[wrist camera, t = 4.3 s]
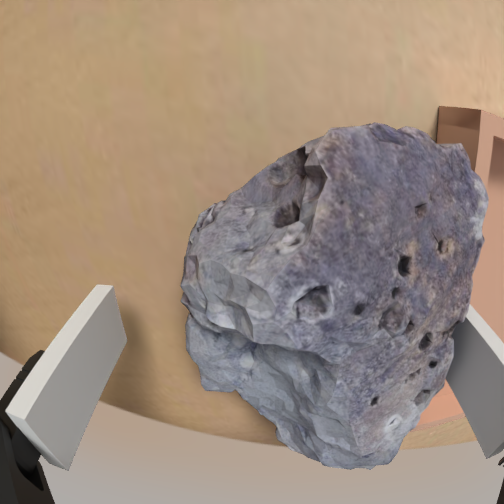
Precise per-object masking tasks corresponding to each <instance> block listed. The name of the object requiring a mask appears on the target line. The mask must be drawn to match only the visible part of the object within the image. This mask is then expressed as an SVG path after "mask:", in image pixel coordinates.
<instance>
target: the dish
mask: <svg viewBox="0 0 504 504" xmlns="http://www.w3.org/2000/svg"><path fill="white" fill-rule="evenodd" d="M453 143H461V144H462V145H463V147H464V149H465V151H466V152H467V154H468V157H469V159H470V164H471V169H472V170H473V171H474V172H475V173H476V174H477V175H479V176H480V178H481V180H482V181H483V183H484V185H485V188H486V191H487V194H488V197H489V201H488V208H487V211H486V215H485V218H484V221H483V225H482V234H483V237H484V239H485V242H484V244H483V246H482V248H481V252H480V257H479V261H478V263H477V266H476V268H475V270H474V273H473V275H472V279H473V288H472V292H471V299H470V305H471V306H472V307H473V308H474V309H475V310H476V311H477V313H478V314H479V315H480V316H481V317H482V318H483V319H484V320H485V322H486V323H487V324H488V325H489V326H490V327H491V329H492V330H493V331H494V332H495V333H496V335H497V336H498V337H499V338H500V339H501V341H502V342H503V343H504V119H503V118H501V117H498V116H496V115H493V114H491V113H488V112H486V111H483V110H478V109H469V108H458V107H445V106H439V118H438V131H437V142H436V144H453ZM464 417H466V416H465V414H464V412H463V410H462V408H461V406H460V404H459V402H458V400H457V399H456V397H455V395H454V393H453V391H452V389H451V388H450V386H449V384H448V382H447V381H446V379H445V384H444V387H443V388H442V389H441V390H440V391H439V392H438V393H437V394H436V395H435V396H434V397H433V398H432V399H431V401H430V404H429V406H428V407H427V408H426V409H425V410H424V411H423V412H422V413H421V415H420V420H419V422H418V424H417V425H416V427H415V428H414V429H412V430H411V431H409V432H413V431H418V430H422V429H426V428H430V427H433V426H437V425H441V424H444V423H448V422H451V421H454V420H457V419H461V418H464ZM409 432H408V433H409Z"/></svg>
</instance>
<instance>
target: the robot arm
mask: <svg viewBox="0 0 504 504" xmlns="http://www.w3.org/2000/svg"><path fill="white" fill-rule="evenodd" d="M451 337H452V338H453V339H454V357H453V360H452V363H451V365H450V368H449V370H448V373H447V376H446V381H447V382H448V384H449V386H450V388H451V389H452V391H453V393H454V395H455V397H456V399H457V400H458V402H459V404H460V406H461V408H462V410H463V412H464V414H465V416H466V418H467V419H468V421H469V423H470V425H471V427H472V429H473V431H474V433H475V435H476V438H477V440H478V442H479V444H480V446H481V448H482V450H483V452H484V455H485V457H486V459H487V458H490V457H492V456H494V455H496V454H498V453H500V452H501V451H502V450H503V449H504V343H503V342H502V341H501V339H500V338H499V337H498V336H497V335H496V333H495V332H494V331H493V330H492V329H491V327H490V326H489V325H488V324H487V323H486V322H485V320H484V319H483V318H482V317H481V316H480V315H479V314H478V313H477V311H476V310H475V309H474V308H473V307H472V306H471V305H469V310H468V313H467V315H466V318H465V320H464V322H462V323H460V324H458V325H457V326H456V327H455V329H454V331H453V333H452V335H451ZM126 343H127V337H126V334H125V330H124V326H123V323H122V319H121V315H120V311H119V307H118V303H117V299H116V295H115V291H114V286H110V285H96V286H95V287H94V289H93V290H92V291H91V292H90V294H89V295H88V296H87V297H86V298H85V300H84V301H83V302H82V303H81V305H80V306H79V307H78V308H77V310H76V311H75V312H74V313H73V315H72V316H71V317H70V319H69V320H68V321H67V322H66V324H65V325H64V326H63V328H62V329H61V330H60V332H59V333H58V334H57V336H56V337H55V338H54V340H53V341H52V342H51V344H50V345H49V347H48V348H47V349H46V351H42V350H40V351H38V352H37V353H36V354H34V355H33V356H32V357H30V358H29V360H28V361H27V362H26V364H25V365H24V366H23V368H22V371H20V372H19V374H18V375H17V376H16V379H14V381H13V382H12V384H11V385H10V387H9V388H8V390H7V391H6V393H5V394H4V396H3V397H2V399H1V400H0V504H55V502H54V500H53V497H52V495H51V492H50V489H49V486H48V484H47V481H46V478H45V475H44V472H43V469H42V466H41V464H40V462H39V461H38V460H39V458H40V455H42V456H43V457H44V458H45V459H46V460H47V461H48V462H49V463H50V464H52V465H55V466H58V467H60V468H62V469H65V470H69V468H70V466H71V463H72V461H73V458H74V456H75V453H76V451H77V448H78V446H79V443H80V441H81V439H82V436H83V434H84V432H85V429H86V427H87V425H88V423H89V420H90V418H91V416H92V413H93V411H94V409H95V407H96V405H97V403H98V400H99V398H100V396H101V394H102V392H103V390H104V388H105V385H106V383H107V381H108V379H109V377H110V375H111V373H112V371H113V369H114V367H115V365H116V363H117V361H118V359H119V357H120V355H121V353H122V351H123V349H124V347H125V345H126ZM503 462H504V457H503V458H502V459H501V460H500V461H499V464H498V465H501V464H502V463H503ZM503 467H504V465H503ZM497 504H504V479H503V483H502V487H501V490H500V494H499V497H498V500H497Z"/></svg>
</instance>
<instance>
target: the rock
mask: <svg viewBox="0 0 504 504" xmlns="http://www.w3.org/2000/svg"><path fill="white" fill-rule="evenodd" d="M488 201H489V197H488V194H487V191H486V188H485V185H484V183H483V181H482V180H481V178H480V176H479V175H477V174H476V173H475V172H474V171H473V170H472V169H471V164H470V159H469V157H468V154H467V152H466V151H465V149H464V147H463V145H462V144H461V143H453V144H436V143H435V142H434V141H433V140H432V139H431V137H430V136H429V135H428V134H427V133H425V132H423V131H420V130H418V129H416V128H413V127H406V126H405V127H403V128H400V129H398V130H396V129H394V128H392V127H390V126H388V125H385V124H380V123H373V124H367V125H362V126H354V127H339V128H330V130H329V131H328V132H327V133H326V135H324V136H322V137H320V138H317V139H314V140H312V141H309V142H307V143H305V144H304V145H303V146H301V147H300V148H299V149H297V150H295V151H293V152H291V153H288V154H286V155H284V156H282V157H280V158H278V160H277V161H276V162H275V163H273V164H271V165H269V166H267V167H266V168H264V169H263V170H262V171H261V172H259V173H258V174H257V175H255V176H254V177H253V178H252V179H251V180H250V181H249V182H248V183H246V184H245V185H244V186H243V187H242V188H241V189H239V190H237V191H235V192H233V193H231V194H230V195H229V197H228V198H227V199H226V201H220V202H219V203H218V204H217V203H214V204H213V205H212V206H210V207H209V208H208V209H207V210H205V211H204V212H202V213H201V214H199V217H198V220H197V222H196V224H195V226H194V227H193V229H192V231H191V233H190V238H189V242H188V247H187V251H186V256H185V257H184V273H183V277H182V282H181V288H182V290H183V291H184V293H183V296H182V299H181V302H182V303H183V304H184V305H185V306H186V307H187V308H188V310H189V311H190V313H189V315H188V318H187V321H186V325H185V327H186V349H187V351H188V353H189V355H190V356H191V358H192V360H193V361H194V362H195V363H196V364H197V365H198V366H199V371H200V375H201V384H202V386H203V388H204V389H205V391H219V392H232V391H234V390H236V391H238V393H239V394H240V395H241V397H242V398H243V399H244V400H246V401H247V402H248V403H250V404H251V405H252V406H253V407H254V408H255V409H257V410H258V412H259V413H260V415H264V416H265V417H266V418H267V419H268V420H270V421H271V422H273V423H274V424H275V425H276V436H277V439H278V440H279V441H280V442H282V443H284V444H285V445H286V446H288V447H289V449H290V450H293V451H296V452H298V453H301V454H303V455H305V456H307V457H308V458H311V459H313V460H316V461H319V462H321V463H322V464H323V465H324V466H328V467H335V468H344V469H350V470H351V469H354V468H366V469H369V470H371V469H372V468H373V467H375V466H376V465H384V464H389V463H390V462H391V461H392V459H393V458H394V457H395V456H396V454H397V453H398V450H399V448H400V445H401V443H402V441H403V438H404V437H405V436H406V435H407V434H408V432H409V431H411V430H412V429H414V428H415V427H416V425H417V424H418V422H419V420H420V415H421V413H422V412H423V411H424V410H425V409H426V408H427V407H428V406H429V404H430V401H431V399H432V398H433V397H434V396H435V395H436V394H437V393H438V392H439V391H440V390H441V389H442V388H443V387H444V384H445V379H446V376H447V373H448V370H449V368H450V365H451V363H452V360H453V357H454V339H453V338H452V337H451V335H452V333H453V331H454V329H455V327H456V326H457V325H458V324H460V323H462V322H464V320H465V318H466V315H467V313H468V310H469V305H470V299H471V292H472V288H473V279H472V275H473V273H474V270H475V268H476V266H477V263H478V261H479V257H480V252H481V248H482V246H483V244H484V242H485V239H484V237H483V234H482V225H483V221H484V218H485V215H486V211H487V208H488Z"/></svg>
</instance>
